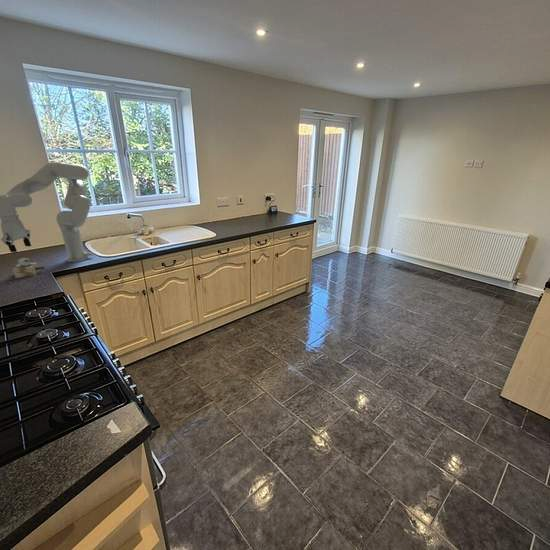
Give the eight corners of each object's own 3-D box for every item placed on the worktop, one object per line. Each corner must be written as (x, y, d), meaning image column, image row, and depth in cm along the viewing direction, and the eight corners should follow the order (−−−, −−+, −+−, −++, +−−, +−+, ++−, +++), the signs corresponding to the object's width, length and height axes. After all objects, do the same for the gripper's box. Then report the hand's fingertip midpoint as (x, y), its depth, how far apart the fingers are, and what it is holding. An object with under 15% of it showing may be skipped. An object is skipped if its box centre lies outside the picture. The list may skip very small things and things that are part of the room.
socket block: (46, 269, 179) (44, 261, 177) (43, 274, 171) (41, 265, 169) (19, 272, 173) (17, 264, 172) (15, 277, 166) (12, 269, 164)
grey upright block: (25, 272, 174) (20, 257, 170) (35, 272, 173) (30, 258, 170) (20, 274, 170) (15, 259, 167) (30, 275, 170) (25, 260, 167)
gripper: (16, 215, 168) (27, 244, 175) (-12, 222, 152) (1, 254, 159) (29, 215, 168) (39, 244, 175) (2, 222, 152) (14, 254, 159)
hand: (21, 248), depth 167 cm, fingers open, 9 cm apart
